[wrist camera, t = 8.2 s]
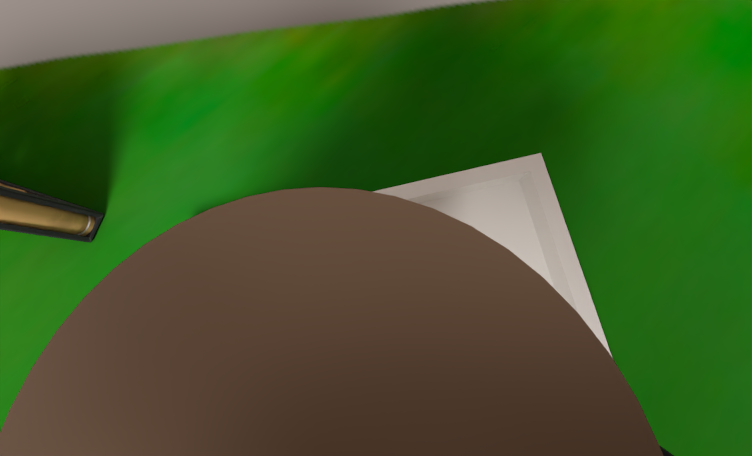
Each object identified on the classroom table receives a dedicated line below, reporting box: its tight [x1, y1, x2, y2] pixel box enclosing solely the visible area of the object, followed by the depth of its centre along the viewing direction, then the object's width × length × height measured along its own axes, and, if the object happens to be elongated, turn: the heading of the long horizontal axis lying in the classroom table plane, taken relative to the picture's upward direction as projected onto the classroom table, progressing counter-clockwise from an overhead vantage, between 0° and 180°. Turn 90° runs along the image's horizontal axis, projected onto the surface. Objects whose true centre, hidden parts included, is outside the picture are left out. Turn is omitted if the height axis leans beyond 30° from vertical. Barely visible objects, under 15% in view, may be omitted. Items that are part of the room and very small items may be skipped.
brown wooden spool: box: [0, 187, 663, 456], centre depth 9 cm, size 7×7×13 cm
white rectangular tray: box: [373, 153, 612, 357], centre depth 15 cm, size 20×14×2 cm
